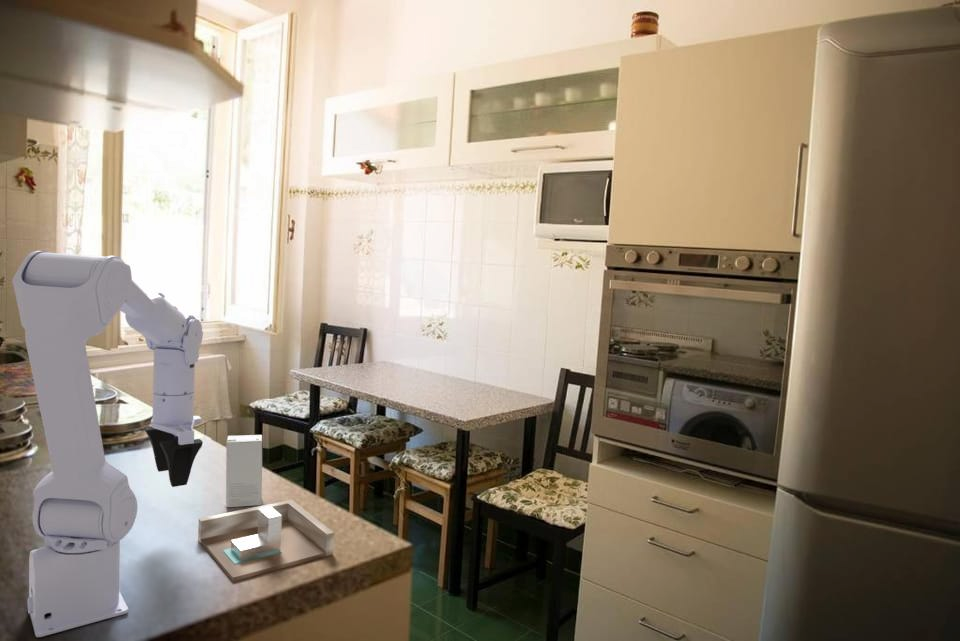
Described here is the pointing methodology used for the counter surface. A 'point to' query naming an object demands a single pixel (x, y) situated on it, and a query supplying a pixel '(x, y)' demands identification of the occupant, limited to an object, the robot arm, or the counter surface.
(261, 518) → the aluminium bracket
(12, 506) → the counter surface
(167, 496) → the counter surface
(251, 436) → the skincare box
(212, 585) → the counter surface
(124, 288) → the robot arm
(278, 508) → the corner arena
